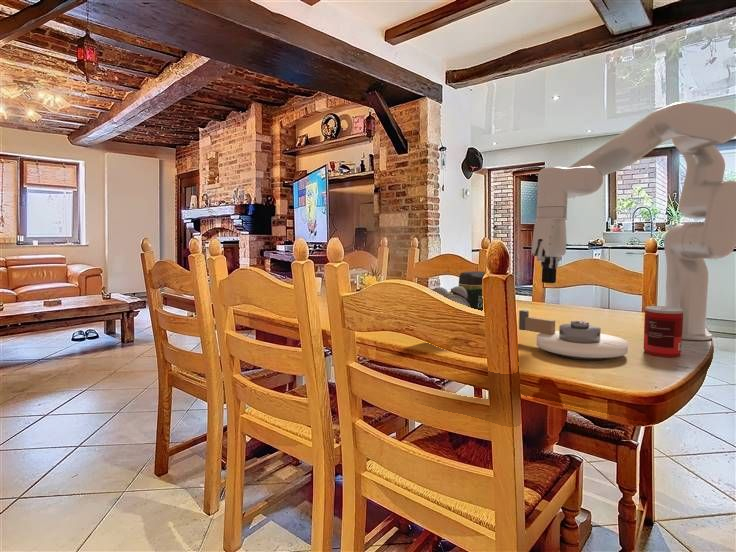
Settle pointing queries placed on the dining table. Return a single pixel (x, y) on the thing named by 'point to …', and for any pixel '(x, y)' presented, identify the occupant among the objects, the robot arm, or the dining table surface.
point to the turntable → (552, 343)
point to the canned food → (663, 331)
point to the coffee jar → (473, 288)
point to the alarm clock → (454, 294)
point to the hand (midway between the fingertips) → (548, 282)
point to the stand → (580, 357)
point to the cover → (579, 333)
